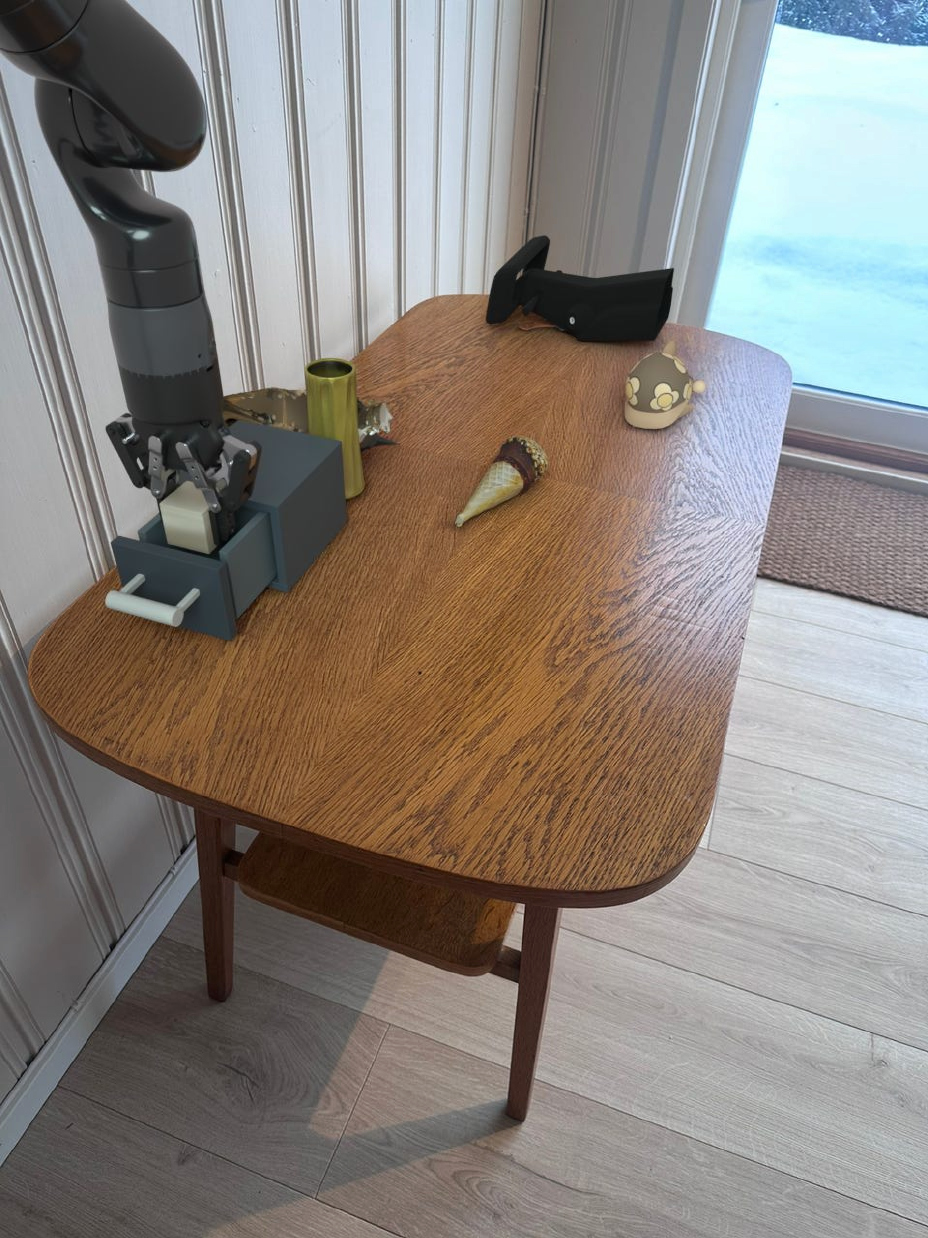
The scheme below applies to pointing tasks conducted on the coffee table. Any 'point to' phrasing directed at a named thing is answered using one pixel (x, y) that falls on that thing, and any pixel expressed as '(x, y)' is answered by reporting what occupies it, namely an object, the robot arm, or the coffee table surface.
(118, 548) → the drawer
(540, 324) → the knife
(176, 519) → the block
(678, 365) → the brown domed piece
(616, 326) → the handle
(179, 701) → the coffee table surface
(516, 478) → the ice cream cone
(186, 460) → the robot arm
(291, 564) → the cabinet
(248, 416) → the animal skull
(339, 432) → the vase
